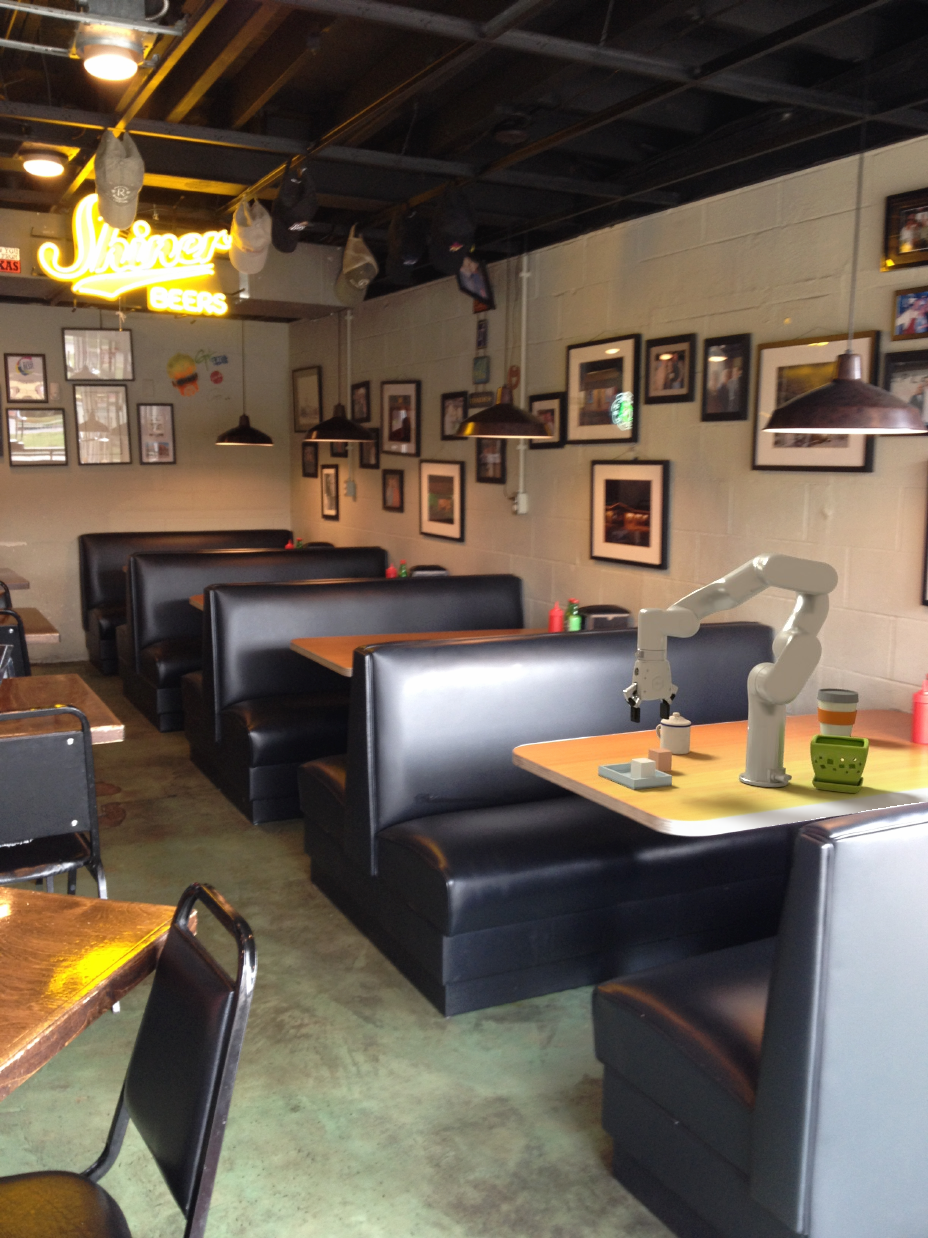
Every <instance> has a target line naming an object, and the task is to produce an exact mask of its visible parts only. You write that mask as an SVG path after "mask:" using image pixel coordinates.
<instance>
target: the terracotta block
mask: <svg viewBox="0 0 928 1238" xmlns="http://www.w3.org/2000/svg"><path fill="white" fill-rule="evenodd" d="M647 757H648V758H647V759H650V760H653V761H655V762H656V767H655V769H656V770H658V771H661V772H664V771H665V772H664V773H666V772H672V761H673V754H672V751H669V750H666V749H663V748H660V747H657V748H649V749H648V756H647Z"/></svg>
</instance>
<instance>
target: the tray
mask: <svg viewBox="0 0 928 1238" xmlns="http://www.w3.org/2000/svg"><path fill="white" fill-rule="evenodd" d="M597 775H598V776H599V775H600V777H601V776H602V778H604V779H606V778H607V779H606V780H608V779H609V781H611V780H612V781H611V782H613V781H614V782H613V783H615V784H618V783H619V784H618V785H620V784H621V786H623V787H625V786H626V788H627V789H631V790H632V789H633V790H632V791H636V790H647V789H652V788H653V789H654V788H662V787H670V786H671V787H672V785H673V775H671V774H669V773H666V772H661V771H658V770H656V769H655V777H648V778H639V779H634V778H631V777H630V775H631V761H630V762H621V763H611V764H602V765H598V772H597Z"/></svg>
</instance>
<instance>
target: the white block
mask: <svg viewBox="0 0 928 1238" xmlns="http://www.w3.org/2000/svg"><path fill="white" fill-rule="evenodd" d="M630 759H631V758H630ZM630 762H631V775H630V777H631V778H634V779H639V778H648V777H655V767H656V762H655V761H653V760H650V759H648V758H646V757H641V758H640V757H639V758H632V759H631V760H630Z"/></svg>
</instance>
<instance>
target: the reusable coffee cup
mask: <svg viewBox="0 0 928 1238" xmlns="http://www.w3.org/2000/svg"><path fill="white" fill-rule="evenodd" d="M816 698H817V702H818V703H817V705H818V706H817V708H816V709H817V718H818V719H817V720H818V722H819V729H820V735H821V734H822V735H834V736H846V737H850V736H851V737H852V731H853V728H854V725H855V724H856V719H857V715H858V713H857V712H858V709H857V706H858V703H859V702H860V701H859V692H858V691H855V690H850V689H843V688H833V687H832V688H830V687H829V688H819V689H818V691H817V697H816Z"/></svg>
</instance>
